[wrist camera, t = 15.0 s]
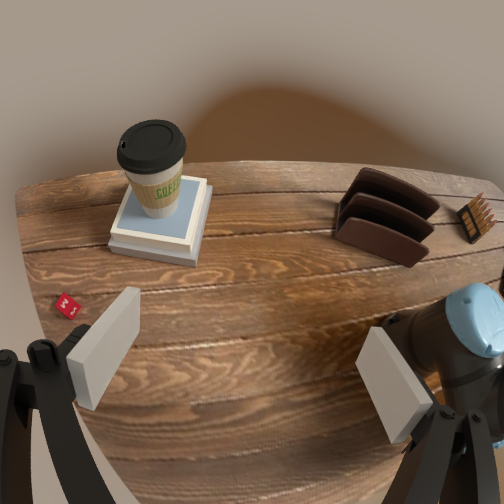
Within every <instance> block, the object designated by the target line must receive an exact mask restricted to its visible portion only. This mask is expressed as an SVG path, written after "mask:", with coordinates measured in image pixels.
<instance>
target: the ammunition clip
mask: <svg viewBox="0 0 504 504" xmlns="http://www.w3.org/2000/svg"><path fill="white" fill-rule="evenodd" d="M483 194H484V193H481V194H479V195H478V196H477V197H475V198H474V199H473V200H471V201H470V202H469V203H468V204H466V205H465V206H464V207H463V208H462V209H460V210H459V211H458V212H457V214H458V217H459V219H460V221H461V223H462V226H463V228H464V230H465V232H466V235H467V237H468V240H469V242H470V244H474V243H475V242H476V241H478V240H479V239H480V238H481V237H482V236H483V235H484V234H485V233H486V232H488V231H489V230H490V228H492V227H493V226H494V225H495V223H496V222H497V220H494V221H492V222H491V223H490V224H488V225H487V223H488V222H489V221H490V220H491V219H492V218H493V217H494V215H495V214H492V215H490V216H489V217H487V218H486V219H485V220H484V218H485V217H486V216H487V215H488V214H489V213H490V212H491V210H492V208H491V209H488V210H487V211H485V212H484V213H483V214H482V212H483V211H484V210H485V209H486V208H487V207H488V205H489V203H487V204H485V205H484V206H482V207H481V208H480V206H481V205H482V204H483V203H484V202H485V200H486V198H484V199H482V200H481V201H480V202H478V201H479V199H480V198H481V197H482V196H483ZM477 202H478V203H477ZM476 203H477V204H476ZM479 208H480V209H479ZM482 220H483V221H482ZM481 221H482V222H481ZM484 226H485V227H484ZM483 227H484V228H483ZM473 235H474V236H473Z"/></svg>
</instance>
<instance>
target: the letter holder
mask: <svg viewBox="0 0 504 504" xmlns="http://www.w3.org/2000/svg"><path fill="white" fill-rule="evenodd" d="M439 208H440V203H439V202H438V201H437V200H436V199H434V198H433V197H431V196H430V195H429V194H427V193H426V192H424V191H422V190H421V189H419V188H417V187H415V186H413V185H411V184H409V183H407V182H405V181H403V180H401V179H398V178H396V177H394V176H391V175H389V174H386V173H384V172H381V171H378V170H375V169H372V168H367V167H365V168H362V169H361V170H360V172H359V173H358V175H357V176H356V178H355V180H354V181H353V183H352V184H351V186H350V188H349V189H348V191H347V192H346V194H345V195H344V197H343V198H342V200H341V201H340V203H339V208H338V215H337V221H336V228H335V235H334V238H335V239H337V240H340V241H343V242H345V243H348V244H351V245H353V246H356V247H359V248H361V249H364V250H366V251H369V252H371V253H374V254H377V255H379V256H382V257H384V258H387V259H389V260H392V261H395V262H397V263H400V264H402V265H405V266H407V267H410V268H411V267H413V266H414V265H415V264H416V263H418V262H419V261H420V260H421V259H423V258H424V257H425V256H426V255H427V254H428V253H429V249H428V248H427V247H426V246H424V245H422V244H421V242H422V241H423V240H424V239H425V238H426V237H427V236H429V235H430V234H431V233H432V232H433V231H434V230H435V227H434V226H433V225H432V224H430V223H429V222H428V221H426V220H427V219H428V218H429V217H431V216H432V215H433V214H434V213H435V212H436V211H437V210H438V209H439Z"/></svg>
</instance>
